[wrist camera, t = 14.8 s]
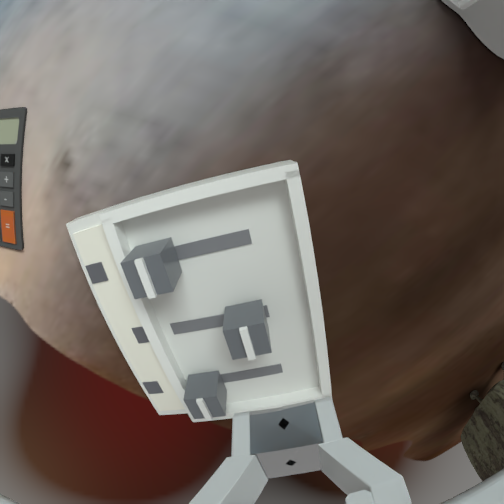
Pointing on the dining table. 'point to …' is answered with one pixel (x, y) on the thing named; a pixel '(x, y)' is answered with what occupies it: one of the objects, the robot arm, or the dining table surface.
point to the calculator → (11, 176)
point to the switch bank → (215, 287)
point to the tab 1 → (152, 269)
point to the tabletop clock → (486, 432)
